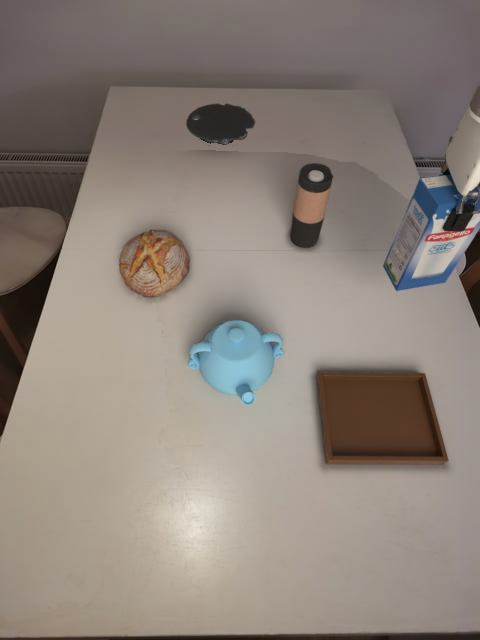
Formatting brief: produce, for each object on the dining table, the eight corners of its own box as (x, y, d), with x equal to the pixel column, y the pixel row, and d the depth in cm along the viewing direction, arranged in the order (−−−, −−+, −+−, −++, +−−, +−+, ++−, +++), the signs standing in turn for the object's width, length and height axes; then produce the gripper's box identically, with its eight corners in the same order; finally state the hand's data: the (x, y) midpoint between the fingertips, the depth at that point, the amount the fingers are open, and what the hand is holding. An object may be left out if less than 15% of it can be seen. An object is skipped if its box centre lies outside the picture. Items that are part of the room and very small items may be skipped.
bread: (120, 305, 100) (107, 277, 91) (127, 243, 111) (116, 213, 102) (190, 299, 100) (183, 271, 91) (190, 238, 111) (184, 208, 102)
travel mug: (283, 240, 111) (292, 175, 94) (298, 224, 114) (309, 158, 98) (309, 253, 108) (323, 188, 92) (324, 235, 112) (339, 170, 96)
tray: (420, 378, 89) (425, 373, 87) (443, 465, 79) (448, 461, 77) (316, 378, 89) (318, 372, 87) (325, 464, 79) (328, 460, 77)
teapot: (274, 329, 95) (279, 295, 85) (296, 414, 84) (305, 386, 74) (185, 342, 93) (179, 307, 83) (195, 430, 82) (190, 403, 72)
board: (172, 133, 137) (170, 118, 133) (223, 108, 146) (223, 93, 141) (217, 165, 128) (217, 150, 124) (269, 137, 137) (270, 121, 133)
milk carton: (395, 291, 78) (438, 205, 62) (382, 266, 82) (419, 178, 65) (445, 282, 80) (500, 195, 63) (430, 258, 83) (478, 170, 67)
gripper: (561, 144, 49) (486, 253, 63) (510, 69, 59) (455, 178, 73) (495, 143, 49) (435, 252, 64) (455, 68, 59) (411, 177, 73)
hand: (446, 211), depth 68 cm, fingers closed on milk carton, 7 cm apart
